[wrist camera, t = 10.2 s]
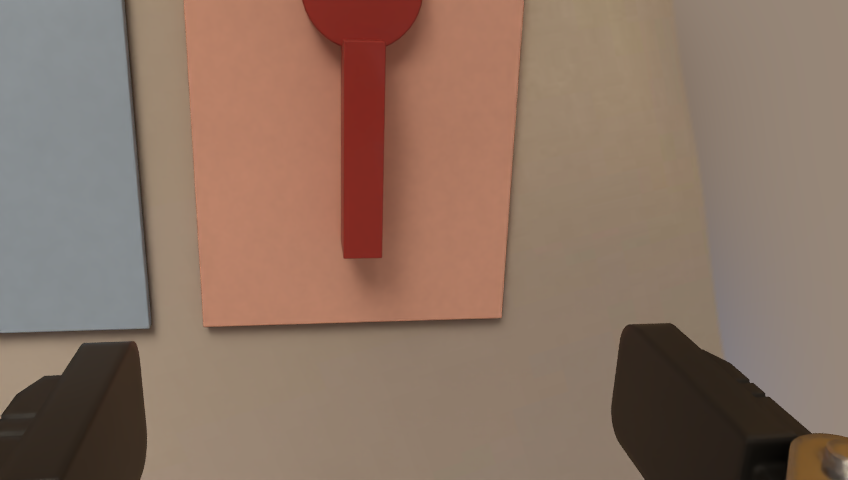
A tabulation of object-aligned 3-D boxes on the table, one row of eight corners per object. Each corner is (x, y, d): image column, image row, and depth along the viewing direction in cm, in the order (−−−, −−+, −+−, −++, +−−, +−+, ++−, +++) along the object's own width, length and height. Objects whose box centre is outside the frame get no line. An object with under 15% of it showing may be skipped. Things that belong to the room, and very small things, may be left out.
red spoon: (299, -81, 25) (298, -89, 22) (421, -74, 25) (432, -82, 23) (304, 241, 28) (304, 259, 26) (412, 240, 29) (420, 258, 26)
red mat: (183, -26, 25) (181, -27, 24) (522, -12, 27) (525, -12, 26) (204, 323, 29) (203, 327, 28) (499, 314, 31) (501, 318, 30)
